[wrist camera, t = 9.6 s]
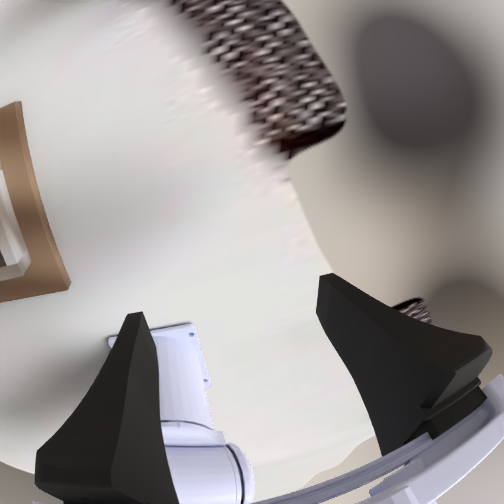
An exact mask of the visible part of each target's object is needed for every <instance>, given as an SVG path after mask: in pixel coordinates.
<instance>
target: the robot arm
mask: <svg viewBox="0 0 504 504" xmlns="http://www.w3.org/2000/svg"><path fill="white" fill-rule="evenodd" d="M316 314H317V316H318V318H319V321H320V323H321V325H322V327H323V329H324V331H325V333H326V335H327V337H328V338H329V340H330V341H331V343H332V345H333V346H334V348H335V349H336V351H337V353H338V354H339V356H340V357H341V359H342V361H343V362H344V364H345V365H346V367H347V369H348V370H349V372H350V374H351V376H352V378H353V380H354V382H355V384H356V386H357V388H358V390H359V393H360V395H361V397H362V400H363V402H364V404H365V407H366V409H367V412H368V414H369V417H370V420H371V422H372V425H373V428H374V431H375V434H376V437H377V440H378V443H379V447H380V450H381V454H382V457H381V458H379V459H377V460H375V461H373V462H371V463H369V464H367V465H364V466H362V467H360V468H358V469H355V470H353V471H351V472H348V473H346V474H343V475H341V476H338V477H336V478H333V479H331V480H328V481H325V482H323V483H320V484H317V485H314V486H311V487H308V488H305V489H302V490H299V491H296V492H292V493H289V494H286V495H282V496H278V497H275V498H271V499H267V500H263V501H259V502H254V503H252V502H253V500H254V495H255V480H254V474H253V470H252V467H251V464H250V462H249V460H248V458H247V457H246V455H245V454H244V453H243V452H242V451H241V450H240V448H239V447H238V446H236V445H235V444H233V443H226V441H225V437H224V433H223V432H222V431H215V430H214V426H213V422H212V418H211V413H210V409H209V404H208V400H207V395H206V390H205V389H206V388H209V387H211V381H210V378H209V375H208V371H207V368H206V364H205V360H204V357H203V353H202V350H201V346H200V342H199V338H198V335H197V331H196V327H195V325H193V324H185V325H180V326H174V327H169V328H163V329H158V330H152V331H150V330H149V327H148V325H147V322H146V320H145V317H144V314H143V312H137V313H131V314H128V315H127V316H126V318H125V320H124V322H123V325H122V327H121V329H120V332H119V334H118V336H115V337H110V338H109V340H108V344H109V346H110V348H111V351H110V353H109V355H108V357H107V359H106V361H105V363H104V365H103V367H102V368H101V370H100V372H99V374H98V376H97V378H96V379H95V381H94V383H93V384H92V386H91V388H90V389H89V391H88V392H87V394H86V395H85V397H84V398H83V400H82V401H81V402H80V404H79V405H78V407H77V408H76V409H75V411H74V412H73V413H72V415H71V416H70V417H69V418H68V419H67V421H66V422H65V423H64V424H63V425H62V426H61V427H60V429H59V430H58V431H57V432H56V433H55V434H54V435H53V436H52V437H51V438H50V439H49V440H48V441H47V442H46V443H45V444H44V445H43V446H42V447H40V448H39V449H38V450H37V453H36V462H35V485H36V486H37V487H38V488H39V489H41V490H42V491H44V492H46V493H48V494H50V495H52V496H54V497H56V498H58V499H60V500H62V501H64V504H318V503H321V502H324V501H326V500H329V499H332V498H335V497H337V496H339V495H342V494H345V493H347V492H349V491H352V490H354V489H356V488H359V487H361V486H363V485H365V484H367V483H369V482H372V481H373V480H376V479H378V478H380V477H382V476H384V475H386V474H388V473H390V472H391V471H393V470H395V469H397V468H399V467H401V466H402V465H404V464H405V465H404V467H403V468H401V469H400V470H398V471H396V472H395V473H393V474H392V475H390V476H388V477H386V478H384V480H383V481H382V482H381V483H379V484H378V485H377V486H375V487H373V488H372V489H370V490H369V493H370V495H371V497H370V498H367V499H365V500H363V501H361V502H359V503H356V504H437V502H436V499H437V498H438V497H440V496H441V495H442V494H444V493H445V492H446V491H447V490H449V489H450V488H451V487H452V486H454V485H455V484H456V483H457V482H459V481H460V480H461V479H462V478H463V477H464V476H466V475H467V474H468V473H469V472H470V471H471V470H472V469H474V468H475V467H476V466H477V465H478V464H479V463H480V462H481V461H482V460H483V459H484V458H485V457H486V456H487V455H488V454H489V453H490V452H491V451H492V450H493V449H494V448H495V447H496V446H497V445H498V444H499V443H500V442H501V441H502V440H503V439H504V377H503V376H502V375H501V374H500V375H498V376H497V377H496V378H495V379H494V380H492V381H491V382H490V383H489V384H488V385H486V387H484V388H483V389H482V390H481V389H480V387H479V385H480V384H481V381H480V379H479V378H478V375H479V374H480V372H481V371H482V370H483V368H484V367H485V365H486V364H487V363H488V361H489V359H490V357H491V355H492V348H491V347H490V346H489V345H488V344H487V343H486V341H485V340H484V339H483V338H482V337H481V336H477V335H471V334H465V333H459V332H455V331H451V330H447V329H443V328H440V327H436V326H434V325H431V324H428V323H425V322H422V321H420V320H417V319H414V318H412V317H410V316H408V315H405V314H403V313H401V312H399V311H397V310H395V309H393V308H391V307H389V306H387V305H385V304H384V303H382V302H380V301H378V300H376V299H375V298H373V297H371V296H370V295H368V294H366V293H365V292H363V291H361V290H360V289H358V288H357V287H355V286H353V285H352V284H350V283H349V282H347V281H345V280H344V279H342V278H341V277H339V276H337V275H336V274H334V273H330V274H326V275H322V276H320V278H319V289H318V298H317V307H316ZM189 333H192V334H189ZM32 504H45V503H40V502H35V501H33V502H32Z"/></svg>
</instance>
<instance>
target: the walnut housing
mask: <svg viewBox="0 0 504 504" xmlns="http://www.w3.org/2000/svg"><path fill="white" fill-rule="evenodd" d="M70 283H71V282H70V279H69V277H68V274H67V272H66V270H65V267H64V265H63V262H62V260H61V257H60V254H59V252H58V249H57V246H56V244H55V241H54V238H53V235H52V232H51V229H50V226H49V223H48V220H47V217H46V214H45V211H44V207H43V204H42V201H41V197H40V194H39V190H38V186H37V182H36V179H35V175H34V170H33V166H32V162H31V157H30V153H29V148H28V143H27V137H26V132H25V126H24V119H23V112H22V105H21V101H19V102H14V103H11V104H9V105H7V106H5V107H3V108H1V109H0V303H1V302H6V301H12V300H17V299H23V298H28V297H33V296H39V295H44V294H49V293H55V292H60V291H66V290H68V289H69V286H70Z"/></svg>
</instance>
